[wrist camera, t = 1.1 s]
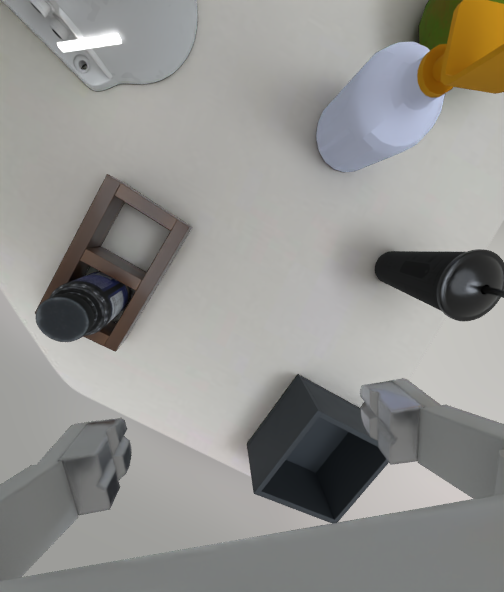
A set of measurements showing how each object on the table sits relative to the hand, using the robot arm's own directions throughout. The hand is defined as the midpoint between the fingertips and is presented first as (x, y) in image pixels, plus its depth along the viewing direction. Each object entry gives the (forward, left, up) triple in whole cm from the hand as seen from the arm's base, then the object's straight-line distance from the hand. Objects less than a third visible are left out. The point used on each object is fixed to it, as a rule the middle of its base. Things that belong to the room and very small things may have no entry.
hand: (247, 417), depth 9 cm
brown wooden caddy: (-12, -6, -29) cm, 32 cm away
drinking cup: (+21, +14, -29) cm, 39 cm away
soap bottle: (+4, +24, -29) cm, 38 cm away
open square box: (+27, -16, -29) cm, 43 cm away
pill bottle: (-12, -11, -29) cm, 33 cm away
